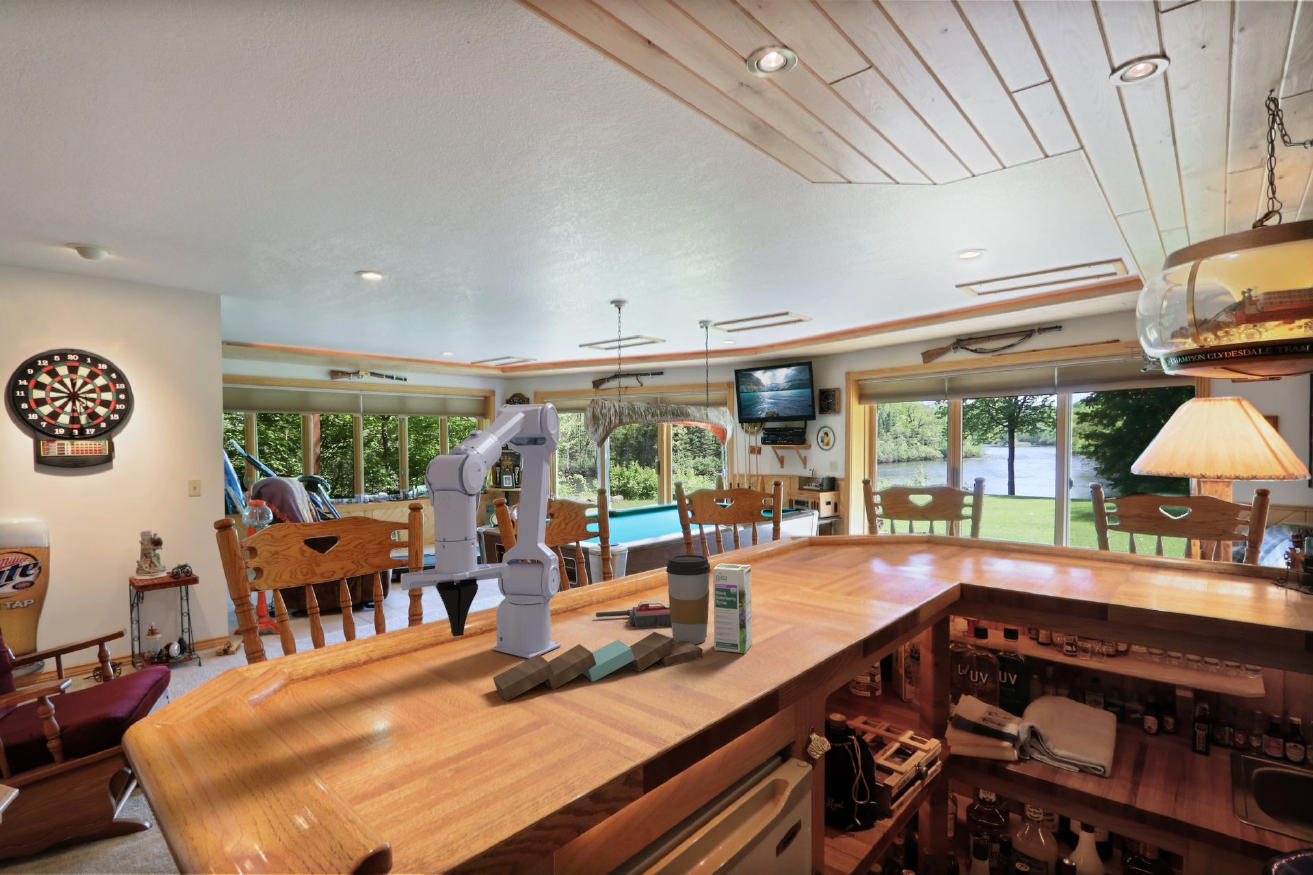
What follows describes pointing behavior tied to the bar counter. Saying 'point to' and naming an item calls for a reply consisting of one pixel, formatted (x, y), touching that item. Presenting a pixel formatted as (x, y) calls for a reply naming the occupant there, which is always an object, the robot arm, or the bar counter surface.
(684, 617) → the coffee cup
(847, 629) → the bar counter surface
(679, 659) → the domino
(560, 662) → the domino
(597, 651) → the domino
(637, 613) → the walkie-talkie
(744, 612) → the syrup box
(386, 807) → the bar counter surface
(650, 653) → the domino
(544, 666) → the domino
